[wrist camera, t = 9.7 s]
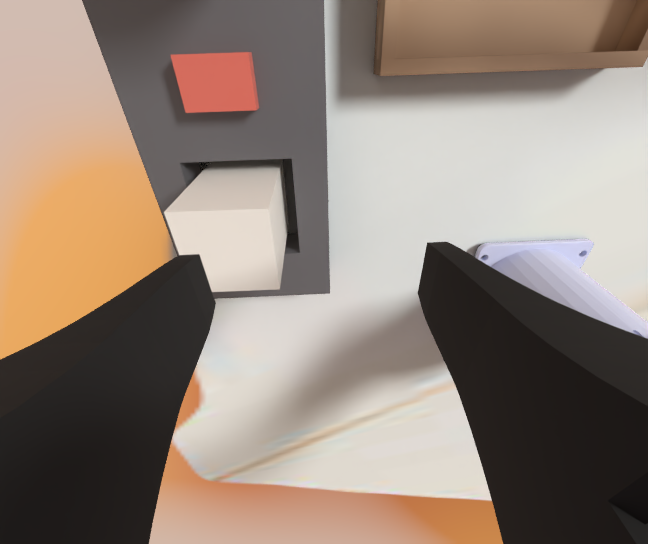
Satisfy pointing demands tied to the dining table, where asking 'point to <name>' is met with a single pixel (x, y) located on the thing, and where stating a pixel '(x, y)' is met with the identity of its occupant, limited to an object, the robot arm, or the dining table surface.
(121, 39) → the power strip
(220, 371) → the dining table surface
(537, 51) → the tray
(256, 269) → the white plug
